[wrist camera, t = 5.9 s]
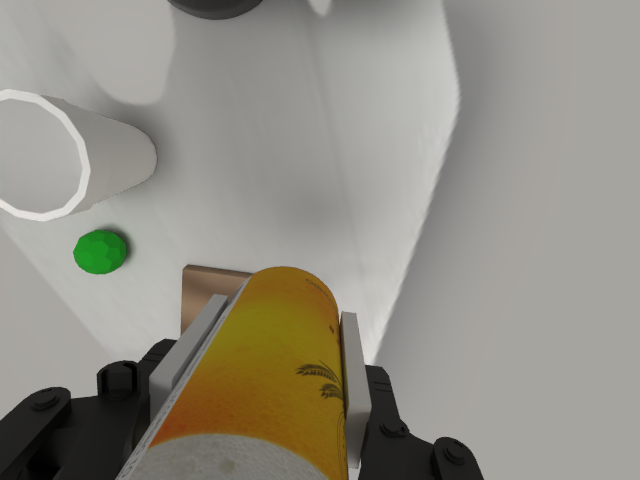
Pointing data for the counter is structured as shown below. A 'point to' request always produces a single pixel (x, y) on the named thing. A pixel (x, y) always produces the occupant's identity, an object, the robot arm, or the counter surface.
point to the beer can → (256, 392)
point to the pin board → (206, 289)
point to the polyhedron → (100, 252)
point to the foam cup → (65, 156)
